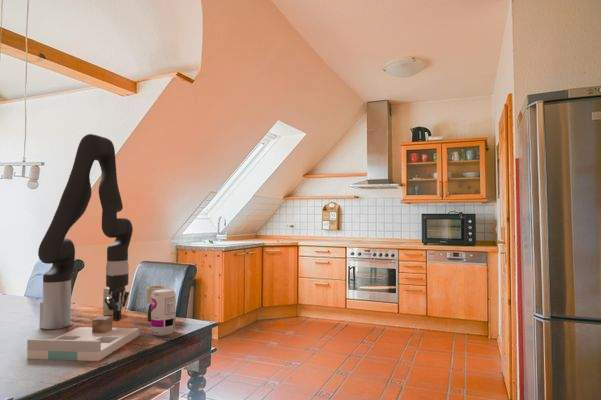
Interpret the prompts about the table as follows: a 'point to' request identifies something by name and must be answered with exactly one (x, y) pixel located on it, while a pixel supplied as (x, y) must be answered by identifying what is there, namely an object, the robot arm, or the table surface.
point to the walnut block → (102, 324)
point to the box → (105, 307)
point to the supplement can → (163, 312)
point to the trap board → (80, 344)
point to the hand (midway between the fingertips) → (117, 320)
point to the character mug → (148, 296)
